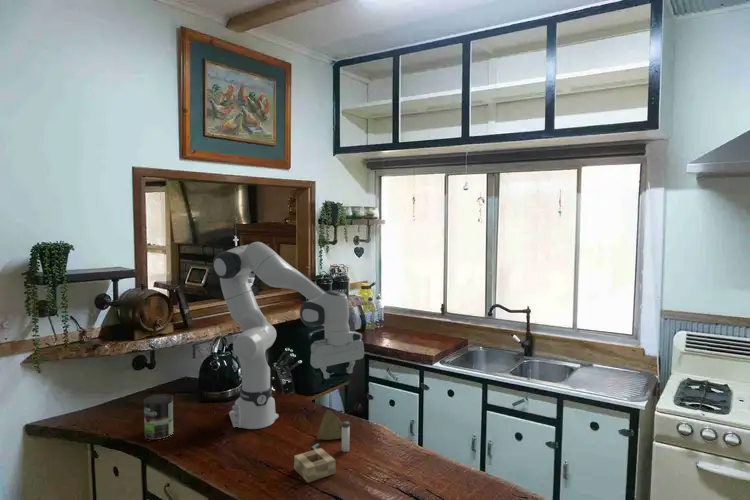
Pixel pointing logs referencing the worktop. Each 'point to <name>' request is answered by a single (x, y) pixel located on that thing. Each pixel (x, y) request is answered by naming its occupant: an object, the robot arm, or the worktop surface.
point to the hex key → (315, 446)
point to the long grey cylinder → (345, 436)
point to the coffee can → (158, 416)
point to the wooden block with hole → (314, 464)
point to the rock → (330, 427)
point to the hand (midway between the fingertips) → (338, 375)
